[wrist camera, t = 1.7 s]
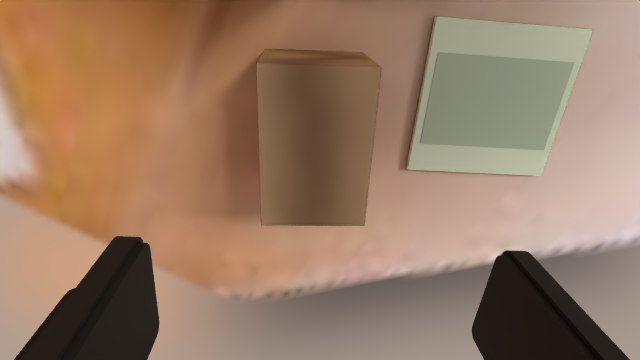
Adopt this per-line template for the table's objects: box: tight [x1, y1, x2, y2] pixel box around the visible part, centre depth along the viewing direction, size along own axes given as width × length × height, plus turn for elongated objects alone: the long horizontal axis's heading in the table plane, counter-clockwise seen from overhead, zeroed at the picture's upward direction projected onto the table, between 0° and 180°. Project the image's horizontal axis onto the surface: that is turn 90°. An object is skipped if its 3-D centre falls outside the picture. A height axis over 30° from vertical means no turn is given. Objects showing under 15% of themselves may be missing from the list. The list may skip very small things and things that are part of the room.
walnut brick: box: [256, 49, 381, 226], centre depth 23 cm, size 6×9×6 cm, turn 178°
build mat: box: [406, 16, 593, 176], centre depth 25 cm, size 10×10×1 cm
